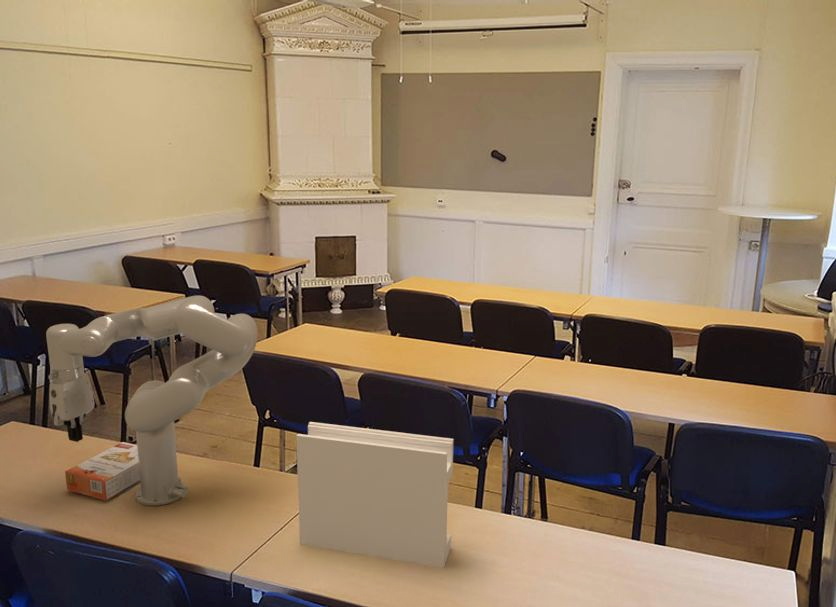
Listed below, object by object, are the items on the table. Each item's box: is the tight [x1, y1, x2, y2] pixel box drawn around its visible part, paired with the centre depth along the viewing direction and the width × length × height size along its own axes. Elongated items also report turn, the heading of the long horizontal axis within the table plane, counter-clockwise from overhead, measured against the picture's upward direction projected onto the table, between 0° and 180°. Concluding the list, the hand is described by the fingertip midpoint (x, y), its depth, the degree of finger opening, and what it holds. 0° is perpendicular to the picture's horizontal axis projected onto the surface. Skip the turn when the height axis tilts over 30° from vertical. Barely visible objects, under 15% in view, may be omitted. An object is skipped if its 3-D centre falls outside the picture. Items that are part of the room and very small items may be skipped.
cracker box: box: [64, 441, 140, 501], centre depth 199 cm, size 14×6×21 cm
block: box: [295, 421, 454, 568], centre depth 167 cm, size 35×8×28 cm, turn 75°
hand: (75, 439), depth 186 cm, fingers closed
